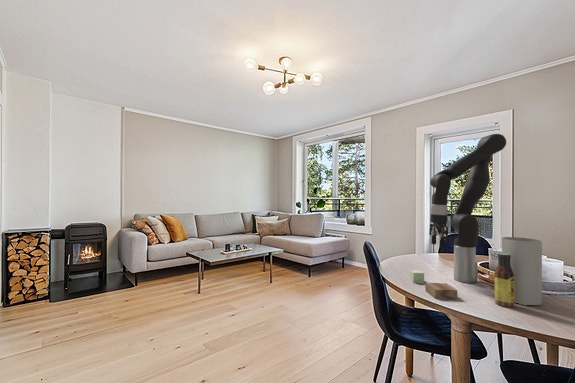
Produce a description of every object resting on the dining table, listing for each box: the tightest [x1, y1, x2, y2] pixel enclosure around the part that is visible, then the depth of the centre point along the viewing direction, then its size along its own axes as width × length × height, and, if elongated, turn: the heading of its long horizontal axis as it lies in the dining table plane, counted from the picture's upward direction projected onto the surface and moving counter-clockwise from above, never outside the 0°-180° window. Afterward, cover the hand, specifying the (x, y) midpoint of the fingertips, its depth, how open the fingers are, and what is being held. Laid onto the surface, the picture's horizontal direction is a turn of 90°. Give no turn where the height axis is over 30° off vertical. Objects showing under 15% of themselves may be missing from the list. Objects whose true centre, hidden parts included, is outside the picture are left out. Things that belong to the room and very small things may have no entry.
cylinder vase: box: [501, 236, 543, 306], centre depth 114 cm, size 12×12×25 cm
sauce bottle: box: [494, 252, 515, 308], centre depth 110 cm, size 7×6×20 cm
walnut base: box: [424, 282, 458, 300], centre depth 120 cm, size 9×9×4 cm
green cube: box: [409, 269, 425, 284], centre depth 138 cm, size 5×5×5 cm
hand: (437, 245), depth 141 cm, fingers open, 8 cm apart
